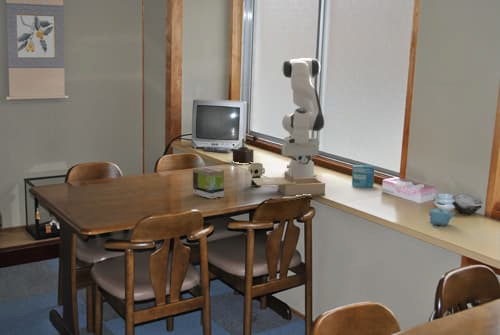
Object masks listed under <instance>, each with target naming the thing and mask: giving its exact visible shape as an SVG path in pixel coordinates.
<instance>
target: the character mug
mask: <svg viewBox="0 0 500 335" xmlns="http://www.w3.org/2000/svg"><path fill="white" fill-rule="evenodd" d="M247 169H248V170H247V172H248V173H250V175H251V181H250V186H251V185H252V186H251V187H254V186H258V185H257V184H256V183H255V182H254V181H253V180H252V178H262V177H261V176H263V174H265V172H266V171H265V170H266V169H265V167H264V166H263V163H261V162H254V163H251V164H249V165H248V167H247Z"/></svg>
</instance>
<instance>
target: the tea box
mask: <svg viewBox="0 0 500 335" xmlns="http://www.w3.org/2000/svg"><path fill="white" fill-rule="evenodd" d="M192 174H193V175H192V176H193V177H192V181H193V182H192V183H193V186H192V188H193V189H192V191H193V193H196V194H199V195H202V196H204V197H207V198H215V197H220V196H224V195H225V171H224V169H219V168H214V167H212V166H211V167H210V166H203V167H195V168H193V169H192ZM207 198H206V199H207Z"/></svg>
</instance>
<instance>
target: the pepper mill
mask: <svg viewBox="0 0 500 335" xmlns="http://www.w3.org/2000/svg"><path fill="white" fill-rule="evenodd" d="M258 140H259V137H258V136H257V135H253V136H252V142H251V141H250V142H249V141H245V140H244V138H242V139H241V143H242V146H241V147H238V148H236V149H235V148H234V149H232V162H233V161H234V162H239V163H250V162H254V149H252V148H249V147H247V146H245V144H256V143H257V141H258Z"/></svg>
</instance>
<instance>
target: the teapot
mask: <svg viewBox="0 0 500 335" xmlns="http://www.w3.org/2000/svg"><path fill="white" fill-rule="evenodd" d="M428 214H429V221H430V222H429V224H432V226H437V225H438V226H440V227H442V228H443V227H445V226H447V225H448V224H449V223H450V221H451V219H452V217H453V215H454V214H456V212H451V211H450V210H448V209H443V208H433V209H432V210H430V211H429V212H428Z"/></svg>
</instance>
